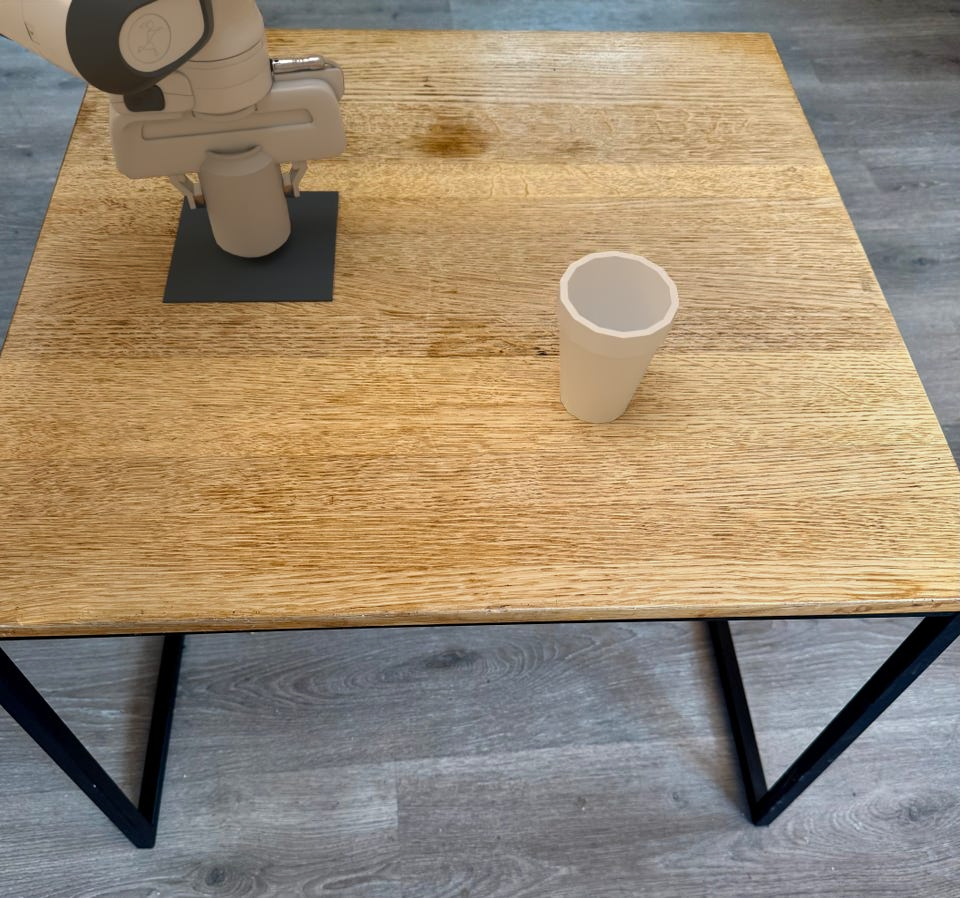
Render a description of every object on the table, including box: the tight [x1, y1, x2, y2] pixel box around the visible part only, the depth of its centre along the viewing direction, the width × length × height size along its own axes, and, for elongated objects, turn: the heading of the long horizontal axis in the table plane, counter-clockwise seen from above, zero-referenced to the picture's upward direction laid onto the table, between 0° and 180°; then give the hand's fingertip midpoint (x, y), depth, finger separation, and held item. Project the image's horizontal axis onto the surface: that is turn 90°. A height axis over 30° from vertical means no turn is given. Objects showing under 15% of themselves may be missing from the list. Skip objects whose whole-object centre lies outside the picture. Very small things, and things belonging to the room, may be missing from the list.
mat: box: [162, 190, 340, 304], centre depth 88 cm, size 16×16×1 cm
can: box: [196, 145, 290, 258], centre depth 83 cm, size 8×8×12 cm
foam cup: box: [556, 250, 680, 425], centre depth 74 cm, size 10×9×13 cm
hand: (245, 199), depth 84 cm, fingers closed on can, 7 cm apart
